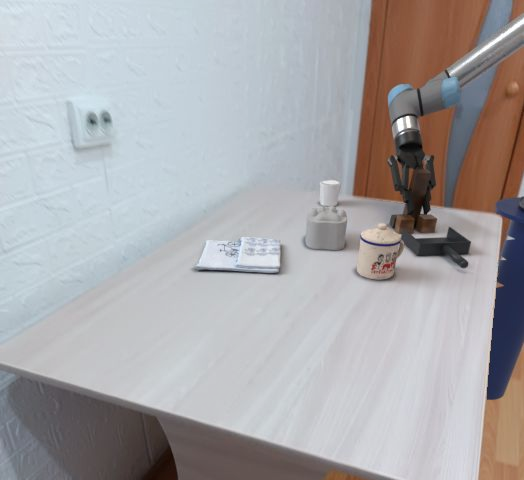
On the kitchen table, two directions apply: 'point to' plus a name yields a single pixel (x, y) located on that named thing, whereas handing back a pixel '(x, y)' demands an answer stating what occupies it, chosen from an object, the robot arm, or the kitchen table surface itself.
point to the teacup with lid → (379, 252)
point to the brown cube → (404, 223)
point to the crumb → (426, 223)
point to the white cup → (329, 192)
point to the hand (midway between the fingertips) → (419, 212)
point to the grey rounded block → (326, 228)
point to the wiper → (415, 194)
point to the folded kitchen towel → (241, 255)
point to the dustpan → (440, 246)
